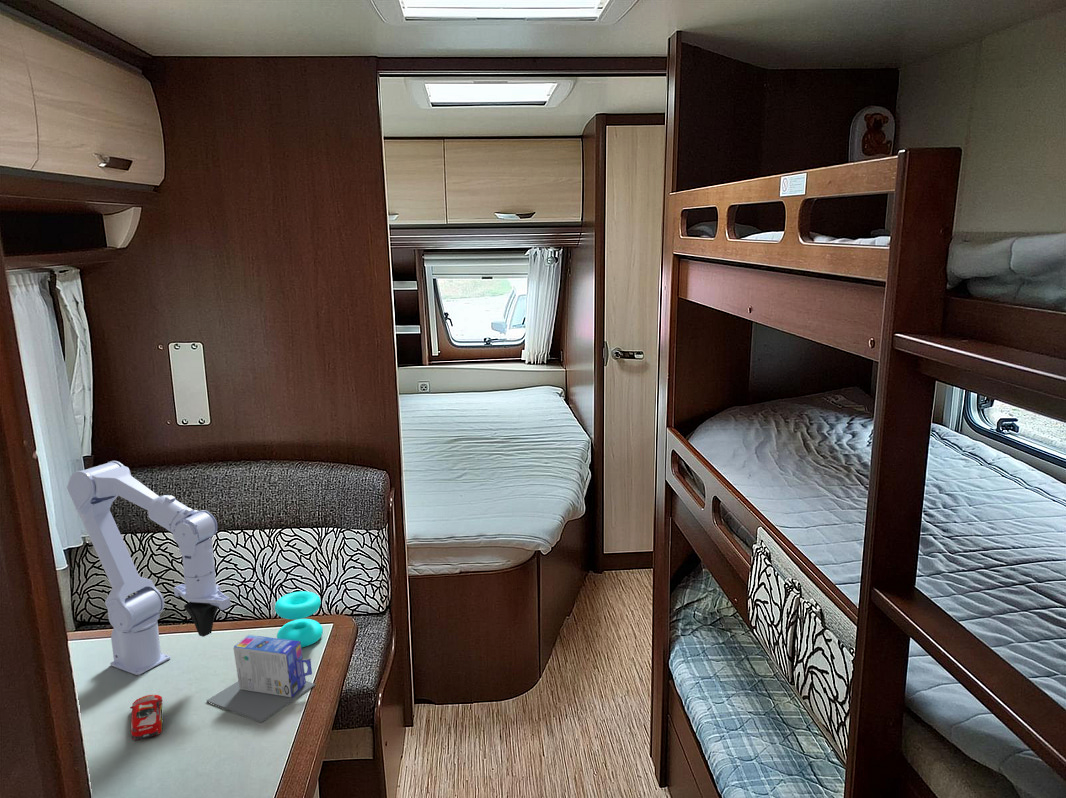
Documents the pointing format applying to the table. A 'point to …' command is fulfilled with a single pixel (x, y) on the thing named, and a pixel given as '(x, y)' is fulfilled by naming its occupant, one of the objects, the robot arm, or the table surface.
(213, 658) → the table surface
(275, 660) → the ink cartridge box
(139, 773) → the table surface
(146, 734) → the race car
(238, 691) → the mat
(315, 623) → the donuts
